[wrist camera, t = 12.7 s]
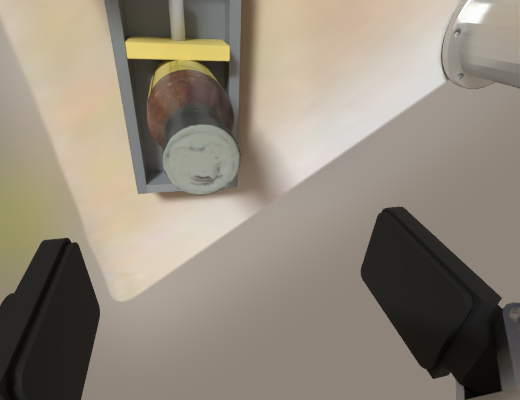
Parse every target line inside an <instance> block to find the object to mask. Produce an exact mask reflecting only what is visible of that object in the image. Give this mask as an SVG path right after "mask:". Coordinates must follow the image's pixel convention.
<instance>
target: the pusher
mask: <svg viewBox="0 0 520 400" xmlns="http://www.w3.org/2000/svg"><path fill="white" fill-rule="evenodd" d="M168 2H169V14H170V26H171V37H147V36H130V37H129V38H128V40H127V41H126V42H125V45H126V52H127V58H131V59H168V60H206V61H230V46H229V45H228V44H227V43H225V42H224V41H223V40H219V39H195V38H185V24H184V8H183V0H168Z"/></svg>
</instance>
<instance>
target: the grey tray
mask: <svg viewBox="0 0 520 400" xmlns="http://www.w3.org/2000/svg"><path fill="white" fill-rule="evenodd" d="M105 6H106V11H107V17H108V23H109V29H110V34H111V40H112V46H113V52H114V58H115V63H116V69H117V75H118V81H119V87H120V92H121V98H122V104H123V110H124V115H125V121H126V127H127V133H128V139H129V144H130V150H131V156H132V162H133V168H134V173H135V179H136V185H137V191H138V194H143V193H158V192H173V191H182V190H180V189H178V188H177V187H176V186H175V185H173V184H172V183H171V182H170V180H169V179H168V177H167V176H166V174H165V171H164V169H163V164H162V148H161V147H160V146H159V145H158V143H157V142H156V141H155V140H154V139H153V138H152V136H151V133H150V131H149V127H148V123H147V102H148V96H149V90H150V84H151V79H152V76H153V74H154V72H155V70H156V68H157V67H158V65H159V64H160V63H161V62H163V61H164V60H166V59H131V58H127V52H126V45H125V42H126V41H127V40H128V38H129V37H130V36H147V37H171V26H170V14H169V2H168V0H105ZM183 8H184V24H185V38H195V39H219V40H223V41H224V42H225V43H227V44H228V45H229V46H230V61H206V60H199V61H200V62H202V63H203V64H204V65H205V66H206V67H207V68H208V69H209V70H210V72H211V73H212V74H213V76H214V77H215V78H216V80H217V81H218V83H219V84H220V85H221V86H222V88H223V89H224V91H225V92H226V93H227V95H228V97H229V99H230V102H231V105H232V108H233V113H234V125H233V130H232V134H233V135H234V138H235V140H236V142H237V145H238V117H239V76H240V35H241V0H183ZM232 187H237V175H236V176H235V178H234V179H233V181H231V182H230V183H229V184H228V185H227V186H226V187H224V188H232Z"/></svg>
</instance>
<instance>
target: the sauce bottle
mask: <svg viewBox="0 0 520 400" xmlns="http://www.w3.org/2000/svg"><path fill="white" fill-rule="evenodd" d="M147 123H148V127H149V131H150V133H151V136H152V138H153V139H154V140H155V141H156V142H157V143H158V145H159V146H160V147H161V148H162V164H163V169H164V171H165V174H166V176H167V177H168V179H169V180H170V182H171V183H172V184H173V185H175V186H176V187H177V188H178V189H180V190H182V191H184V192H186V193H190V194H194V195H205V194H211V193H214V192H217V191H219V190H221V189H223V188H224V187H226V186H227V185H228V184H229V183H230V182H231V181H233V179H234V178H235V176H236V175H237V172H238V170H239V166H240V150H239V147H238V145H237V142H236V140H235V138H234V135H233V134H232V130H233V125H234V113H233V108H232V105H231V102H230V99H229V97H228V95H227V93H226V92H225V91H224V89H223V88H222V86H221V85H220V84H219V83H218V81H217V80H216V78H215V77H214V76H213V74H212V73H211V72H210V70H209V69H208V68H207V67H206V66H205V65H204V64H203V63H202V62H200V61H199V60H168V59H166V60H164V61H163V62H161V63H160V64H159V65H158V67H157V68H156V70H155V72H154V74H153V76H152V79H151V84H150V90H149V96H148V102H147Z"/></svg>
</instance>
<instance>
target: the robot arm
mask: <svg viewBox="0 0 520 400" xmlns="http://www.w3.org/2000/svg"><path fill="white" fill-rule="evenodd" d="M442 60H443V67H444V70H445V73H446V75H447V76H448V78H449V79H450V80H451V81H452V82H453V83H454V84H456V85H458V86H461V87H464V88H468V89H478V88H482V87H486V86H488V85H491V84H493V83H495V82H498V83H502V84H506V85H510V86H514V87H517V88H520V0H463V1H462V3H461V4H460V6H459V7H458V9H457V10H456V12H455V14H454V16H453V17H452V19H451V21H450V23H449V26H448V29H447V32H446V34H445V38H444V43H443V50H442ZM361 277H362V279H363V281H364V282H365V284H366V285H367V287H368V288H369V290H370V291H371V293H372V294H373V296H374V297H375V299H376V300H377V302H378V303H379V305H380V306H381V308H382V309H383V311H384V312H385V314H386V315H387V317H388V318H389V320H390V321H391V323H392V324H393V326H394V327H395V329H396V330H397V332H398V333H399V335H400V336H401V338H402V339H403V341H404V342H405V344H406V345H407V347H408V348H409V350H410V351H411V353H412V354H413V356H414V357H415V359H416V360H417V361H418V363H419V364H420V366H421V367H423V368H425V369H427V371H428V372H429V374H430V375H431V377H432V378H433V379H435V378H439V377H443V376H447V375H449V373H450V372H451V373H452V374H453V376H454V377H455V379H456V400H520V303H510V304H506V305H505V307H504V308H503V309H502V308H501V307H500V306H498V303H499V301H500V300H501V299H502V298H501V297H500V296H499V295H498V294H497V293H496V292H495V291H494V290H493V289H492V288H491V287H489V286H488V285H487V284H486V283H485V282H484V281H483V280H482V279H481V278H480V277H479V276H477V275H476V274H475V273H474V272H473V271H472V270H471V269H470V268H469V267H468V266H467V265H465V264H464V263H463V262H462V261H461V260H460V259H459V258H458V257H457V256H456V255H455V254H454V253H452V252H451V251H450V250H449V249H448V248H447V247H446V246H445V245H444V244H443V243H442V242H440V241H439V240H438V239H437V238H436V237H435V236H434V235H433V234H432V233H431V232H430V231H429V230H427V229H426V228H425V227H424V226H423V225H422V224H421V223H420V222H419V221H418V220H417V219H415V218H414V217H413V216H412V215H411V214H410V213H409V212H408V211H407V210H406V209H404V208H403V207H391V208H385V209H383V210H382V212H381V213H380V214H378V216H377V219H376V223H375V226H374V229H373V232H372V235H371V239H370V242H369V245H368V248H367V251H366V254H365V258H364V261H363V264H362V267H361ZM99 317H100V309H99V304H98V301H97V298H96V295H95V292H94V289H93V286H92V283H91V281H90V277H89V274H88V271H87V269H86V266H85V263H84V260H83V257H82V254H81V251H80V248H79V245H78V244H77V243H71V241H70V240H69V239H68V238H62V239H51V240H44V241H42V243H41V244H40V246H39V248H38V250H37V252H36V253H35V255H34V257H33V259H32V261H31V263H30V265H29V267H28V269H27V270H26V272H25V274H24V276H23V278H22V280H21V282H20V283H19V285H18V287H17V289H16V291H15V293H12V294H10V295H8V296H7V297H6V298H5V299H4V301H3V302H2V304H1V306H0V400H81V397H82V392H83V387H84V383H85V379H86V375H87V371H88V366H89V362H90V357H91V353H92V349H93V344H94V340H95V334H96V331H97V326H98V322H99Z"/></svg>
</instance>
